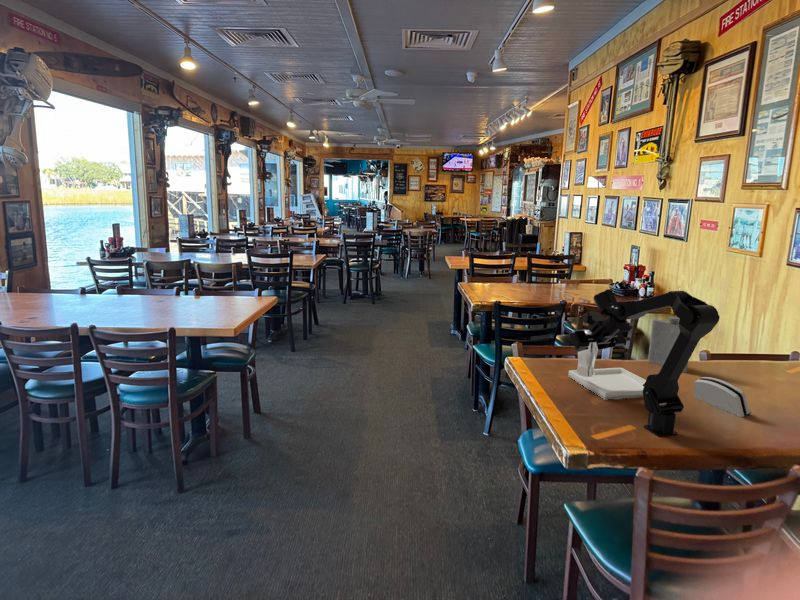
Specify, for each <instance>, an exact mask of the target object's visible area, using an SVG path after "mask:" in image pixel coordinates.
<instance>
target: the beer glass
mask: <svg viewBox="0 0 800 600" xmlns="http://www.w3.org/2000/svg"><path fill="white" fill-rule="evenodd" d="M583 330H584V331H585V334H586V336H591V333H592V332H590V330H589V329H583ZM588 348H589V349H587V350H583V351H580V352H577V368H576V369H575V370H576V374H578V375H580V376H584V377H593V376H594V375H595V371H594V369H595V364H596V359H597V356H598V353H599V350H598V349H599V344H597V343H590V344H589V347H588Z"/></svg>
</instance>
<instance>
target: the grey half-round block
mask: <svg viewBox="0 0 800 600" xmlns="http://www.w3.org/2000/svg"><path fill="white" fill-rule="evenodd" d="M693 388H694V389H693V390H694V391H693V393H694V394H693V395H694V396H693V397H694V399H697V400H700V401H701V400H702V402H704V403H707V404H709V405H710V406H713V407H715V408H718V409H721V410H723V411H725V412H727V411H728V413H730V414H732V415H734V414H735V415H734V416H737V417H739V416H740V418H744V417H745V414H746V415H749V416H752V414H753V413H752V409H750V408H749V405H748V401H747V397H746V394H745V392H744V391H743V390H741V389H740V388H738V387H736V386H734V385H733V384H731V383H730V382H727V381H724V380H723V379H718V378H716V377H709V376H702V377H700V378H699V379H696V380H695V381H694V383H693Z"/></svg>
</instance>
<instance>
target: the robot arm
mask: <svg viewBox="0 0 800 600" xmlns="http://www.w3.org/2000/svg"><path fill="white" fill-rule="evenodd" d="M593 301H594V303H595V305H596V307H597V310H598V311H599V312H598V311H588V312H584V314H582V316H581V321H582V322H583V324H584V325H586V324H587V325H588V326H589V328H588V330H590V332H592V333H591V336H586V334H585V331H584V330H585V329H576V330H575V329H573V330H571V332H570V333H569V337H570V340H571V341H572V343H573V346H574V348H575V350H574V351H575V353H578V352H580V351H583V350H587V349H589V348H588V347H589V344H590V343H597V344H599V349H598V351H601V350H606V349H610V348H616V347H623V346H624V345H625V344H626V338H625V336H624V334H623V332H631V326H630V322H628V320H638V319H640V318H642V317H645V316H646V315H647V314H648V313H650V312H655V311H658V310H663V309H669V308H671V310H672V312H673V314H674V315H675V317H677V318H679V321H678V324H679V329H680V333H679V335H678V337H677V339H676V341H675V343H674V345H673V347H672V349H671V351H670V353H669V355H668V357H667V359H666V360H665V362H664V364H663V366H661V368H660V371H659V372H658V373H655V374H654V373H653V374H648V375H647V377H646V379H645V380H646V382H645V384H643V386H644V388H643V397H642V398H643V403H644V409H645V410H647V411H648V418H647V424H643V428H645V429H646V430H648V431H650V433H652V434H654V435H656V436H657V437H669V436H677V435H678V434H679V432H677V431H676V430H674V429H675V424H676V415H677V414H676V413H682V411H683V410H684V408H685V407H684V404H683V402H682V400H681V399H680V397H679V395H678V393H679V391H680V386H679V385H680V384H679V382H678V381H679V379H680V377H681V375H682V371H683V370H684V368H685V366H686V364H687V362H688V363H689V361H690V359H691V357H692V355H693V353H694V351H695V350H696V347H697V346H698V343H699V341H700V340H702V338H704V337H705V336H706V335H708V334H709V333H711V332H712V330H713V329H714V328H715V327H716V326H717V325H718V324H719V321H720V318H721V317H720V315H719V311H718V310H717V308H716V307H715V306H713V305H711V304H709V303H707V302H706V301H703V300H701V299H699V298H697V297H695V296H692V295H691V294H690V293H688V291H685V290H670V291H668V292H666V293H663V294H662V293H661V294H658V295H653V296H651V297H647V298H643V299H637V300H635V299H634V300H617V298H616V297H615V295H614V292H613V290H612V288H611V289H605V290H604V291H601V292H599V293H597V294H595V295H594V296H593ZM603 315H605V316H606V317H604V316H603Z"/></svg>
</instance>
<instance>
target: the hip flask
mask: <svg viewBox="0 0 800 600" xmlns="http://www.w3.org/2000/svg"><path fill="white" fill-rule="evenodd" d="M679 319H680V318H678V317H677V316H669V317H668V320H669V321H667V320H662V319H658V318H657V319H652V323H651V333H650V340H649V346H648V347H649V348H648V357H647V362H648V363H651V364H655V365H657V366H661V367H662V366H663V364H664V362H665V360H666V359H667V357H668V355H669V353H670V351H671V349H672V347H673V345H674V343H675V341H676V339H677V337H678V335H679V333H680V329H679V324H678V323H679ZM688 365H689V361H688V362H687V364H686V366H685V368H684V370H683V371H682V373H685V374H686V373H687V371H688ZM682 373H681V374H682Z"/></svg>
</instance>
